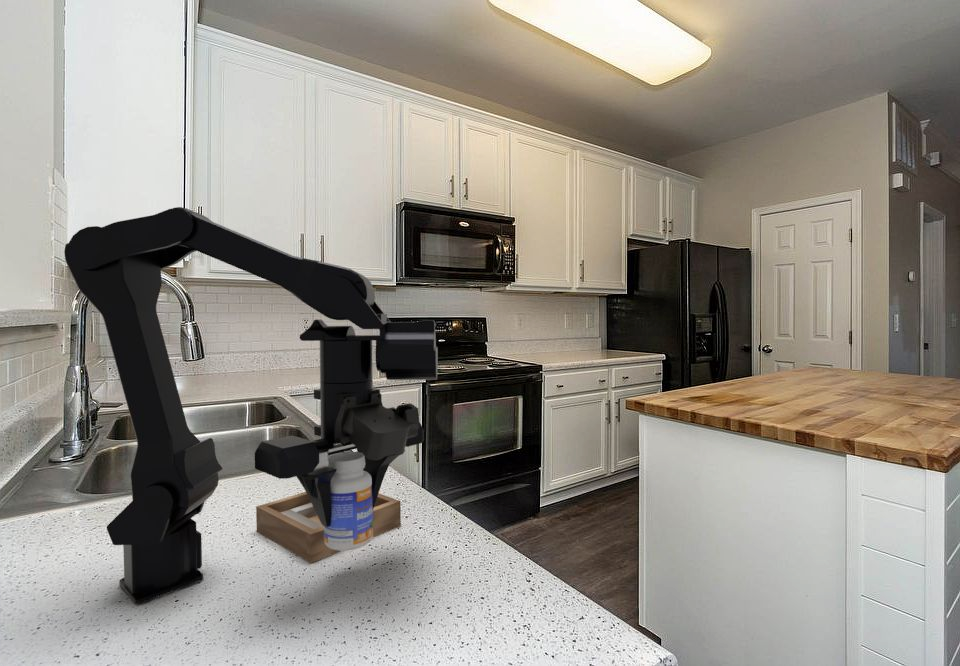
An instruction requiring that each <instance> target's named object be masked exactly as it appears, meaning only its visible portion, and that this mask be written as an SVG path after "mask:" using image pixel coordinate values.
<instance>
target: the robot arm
mask: <svg viewBox="0 0 960 666" xmlns="http://www.w3.org/2000/svg"><path fill="white" fill-rule="evenodd" d="M194 252H195V253H196V252H199V253H201V254H204V255H206V256H207V257H210V258H212V259H215V260H217V261H220V262H223V263H225V264H227V265H230V266H233V267H234V268H237V269H239V270H242V271H244V272H247V273H249V274H252V275H254V276H256V277H259V278H261V279H263V280H265V281H268V282H271V283H273V284H276V285H278V286H280V287H282V288H283V289H285V290H286V291H288V292H289V293H290V294H292V295H293V296H294V297H295V298H296V299H298V300H299V301H301V302H302V303H304V304H306V305H307V306H309V307H310V308H312V309H313V310H315V311H317V312H318V313H319V314H321V315H323V316H324V317H326V318H328V319H330V320H336V321H349V322H350V323H352V324H354V325H355V326H357V327H358V328H360V329H361V330H379V333H380V334H372V335H371V334H356V332H355V328H354V327H353V326H352V325H327V324H326V323H325V322H324V320H323V319H314V320H313V322H312V323H311V325H310V326H309V327H308V328H307V329H306V330H305V331H303V332H302V333H301V334H300V335H299V340H300V341H302V342H306V341H307V342H315V341H317V342H319V385H320V386H319V388H318V389H313V399H314V400H319V401H320V407H319V408H320V424H318V425H314V426H313V427H314V430H313V431H314V434H313V435H314V436H318V437H320V438H319V439H314V440H309V439H307V438H306V439H305V438H302V437H299V436H295V435H286V436H283V437H282V436H281V437H278V438H273V439H267V440H263V441H260V443H259V445H258V447H257V448H256V450H255V452H254V469H255V470H257V471H259V472H262V473H265V474H267V475H269V476H272V477H274V478H277V479H280V480H281V479H283V480H284V479H286V480H287V479H292V478H297V479H298V481H299V482H300V484H301V486H302V487H303V489H304V492H306V493H307V495H308V497H309V499H310V501H311V503H312V505H313V507H314V509H315V511H316V513H317V515H318V517H319V520H320V522H321V524H322V525H323V526H325V527H329V526H330V524H331V479H332V478H333V476H334V474H335V472H336V471H337V469H335V468H332V467H329V466H328V459H329V456H332V455H334V454H338V453H343V452H350V451H352V450H356V452H361V453H363V455H364V456H365V467H364V468H363V471H366V472H368V473H369V474H370V476H371V478H372V507H373V508H374V505H375V502H376V499H377V496H378V493H379V494H380V490H381V486H382V484H383V481H384V479H385V475H386V473H387V471H388V468H389V466H390V464H391V463H392V462H394V461H395V460H396V459H397V458H398V457H399V456H401V455H404V454H405V451H406V447H407V448H409V447H412V446H417V445H419V444H423V443H424V428H423V425H422V424H421V422H420V413H419V408H418V407H417V406H415V405H414V404H412V403H404V404H400V405H398V406H396V408H395V407H393V406H391V407H385V406H384V405H383V402H382V393H381V389H378V388H373V386H374V385H373V384H374V381H373V380H374V379H373V378H374V377H373V341H375V365H376V366H375V367H376V370H377V372H380V373H381V374H385V378H386V380H387V381H413V380H414V381H416V380H417V381H418V380H419V381H423V380H424V381H427V380H428V381H429V380H430V381H431V380H434V381H436V380H438V372H439V371H438V367H439V365H438V363H439V361H438V360H439V354H438V353H439V352H438V351H439V350H438V349H439V348H438V346H437V344H436V343H437V341H436V340H437V339H436V337H437V336H436V321H435V320H434V319H425V320H418V321H391V320H390V319H389V318H388V317H387V316H388V315H387V314H386V313H384V311H383V310H382V309H381V308H380V307H381V306H379V304H378V303H377V302H376V301H375V299H376V296H375V295H376V293H375V289H374V285H373V283H372V281H370V279H368V277H366V276H365V275H363V274H361V273H360V272H358V271H355V270H353V269H351V268H349V267H346V266H342V265H336V264H333V263H328V262H324V261H320V260H316V259H311V258H305V257H299V256H295V255H292V254H289V253H288V252H284V251H282V250H280V249H278V248H275V247H273V246H271V245H268V244H266V243H264V242H261V241H259V240H256V239H254V238H252V237H249V236H248V235H245V234H244V233H243V234H242V233H240V232H238V231H236V230H234V229H231V228H229V227H225V226H223V225H221V224H218V223H216V222H214V221H212V220H211V219H209V217H207V216H205V215H204V214H201V213H199V212H197V211H193V210H192V209H190V208H189V209H188V208H186V207H181V206H179V207H173V208H168V209H166V210H163V211H161V212H158V213H156V214H153V215H146V216H141V217H137V218H136V217H135V218H130V219H124V220H120V221H115V222H112V223H109V224H107V225H105V226H99V225H97V226H94V225H93V226H87V227H84V228H81V229H80V230H78V231H77V232H75V234H73V235H72V236H71V238H70V240H69V241H68V242H67V243H66V244H65V246H64V251H63V253H64V260H65V262H66V266H67V268H68V270H69V272H70V274H71V276H72V277H73V280H74V282H75V284H76V286H77V288H78V290H79V292H80V293H81V294H83V296H84V297H85V298H86V299H87V300H88V302H90V304H91V305H92V306H93V307H94V308H95V310H97V311H98V312H99V313H100V315H101V316H102V319H103V321H104V325H105V329H106V334H107V336H108V341H109V344H110V347H111V351H112V354H113V358H114V361H115V366H116V369H117V373H118V377H119V381H120V385H121V387H122V388H121V389H122V392H123V395H124V398H125V399H124V400H125V401H126V406H127V410H128V413H129V416H130V420H131V424H132V428H133V431H134V435H135V438H136V443H137V444H136V451H135V454H134V458H133V463H132V467H131V469H130V477H129V478H130V486H131V496H132V497H131V499H132V501H131V502H130V503H129V504H127V506H126V507H125V508H124V509H122V510H121V512H120V513H119V514H118V515H117V516H115V518H113V520H111V521H110V522H109V524H107V525H106V530H107V533H108V536H109V538H110V540H111V543H112V545H114V546H122V547H123V576H124V577H122V578H120V579H119V582H118V583H119V586H120V587H121V588H122V589H123V591H124V592H125V593H126V595H127V596H128V597H129V598H130V599H131V600H132V602H133V603H134V604H136V605H138V604H142V603H145V602H149V601H150V600H153V599H156V598H159V597H161V596H163V595H166V594H168V593H169V594H170V593H171V592H174V591H177V590H179V589H181V588H184V587H187V586H189V585H192V584H195V583H198V582H199V581H202V580H203V579H204V573H202V572H201V571H200V569H201V568H202V566H203V550H202V549H203V548H202V547H203V546H202V533H201V532H200V531H198V530H197V521H195V520H194V519H192V518H193V517H195V516H197V515H199V514H200V513H201V512H202V511H203V507H204V504H205V502H206V501H208V499H209V498H210V497H212V496H213V494H214V493H215V491H216V488H217V487H218V486H219V473H220V472H221V471H222V470H223V467H222V465H221V464H220V463H219V461H218V459H217V456H216V455H217V454H216V447H215V441H214V440H213V438H211V437H208V438H207V439H204V440H202V441H200V439H199V438H198V437H197V436H195V434H194V433H193V432H192V430H190V428H189V426H188V422H187V419H186V415H185V412H184V409H183V404H182V401H181V397H180V394H179V390H178V386H177V381H176V379H175V374H174V371H173V368H172V364H171V360H170V358H169V353H168V349H167V345H166V343H165V342H166V341H165V338H164V334H163V331H162V328H161V323H160V319H159V316H158V312H157V303H158V300H159V297H160V292H161V288H162V285H163V284H162V283H163V282H162V272H161V271H163V270H164V269H167V268H170V267H173V266H175V265H176V264H178V263H180V262H181V261H183V260H184V259H186V258H187V257H188V256H190V255H191V254H193V253H194Z"/></svg>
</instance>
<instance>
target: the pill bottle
mask: <svg viewBox="0 0 960 666" xmlns="http://www.w3.org/2000/svg"><path fill="white" fill-rule="evenodd" d="M328 466H329V467H332V468H335V469H337V471H336V472H335V474H334V476H333V478H332V479H331V524H330V526H329V527H325V526H324V541H325V545H326V546H327V547H329V548H330V549H333V550H339V552H341V551H343V552H344V551H353V550H357V549H359V548H362V547H364V546H366V545H368V544H370V542H371V541H372V539H373V538H374V537H373V507H372V478H371V476H370V474H369V473H368V472H366V471H363V468H364V467H365V456H364V455H363V453H361V452H357V451H344V452H340V453H336V454H332V455H329V456H328Z"/></svg>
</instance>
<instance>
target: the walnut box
mask: <svg viewBox="0 0 960 666" xmlns="http://www.w3.org/2000/svg"><path fill="white" fill-rule="evenodd" d="M255 511H256V512H255V513H256V515H255V516H256V517H255V518H256V519H255V520H256V521H255V522H256V532H257V533H258V534H260V535H262V536H264V537H265V538H267V539H269V540H271V542H274V543H276V544H278V545H279V546H280V547H283V548H284V549H286V550H287V551H289V552H291V553H293V554H295V555H297V556H298V557H299V558H301V559H304V560H305V561H307V562H308V563H309V564H313V563H315V562H318V561H320V560H322V559H323V560H324V559H325V558H328V557H330V556H331V555H335V554H336V553H339V552H340V551H339V550H333V549H330V548H329V547H327V546H326V545H325V541H324V526H323V525H322V524H321V522H320V520H319V517H318V515H317V513H316V511H315V509H314V507H313V505H312V503H311V501H310V499H309V497H308V495H307V493H306V491H304V492H300V493H297V494H294V495H290V496H288V497H284V498H280V499H277V500H274V501H270V502H267V503H264V504H260V505H256V508H255ZM401 511H402V509H401V500H399V499H397V498H394V497H390V496H387V495H384V494H383V493H380V492H379V493H378V496H377V499H376V502H375V505H374V508H373V538H374V537H377V536H379V535H381V534H384V533H386V532H388V531H391V530H393V529H395V528H398V527H401V525H402V523H401V521H402V519H401Z"/></svg>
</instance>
